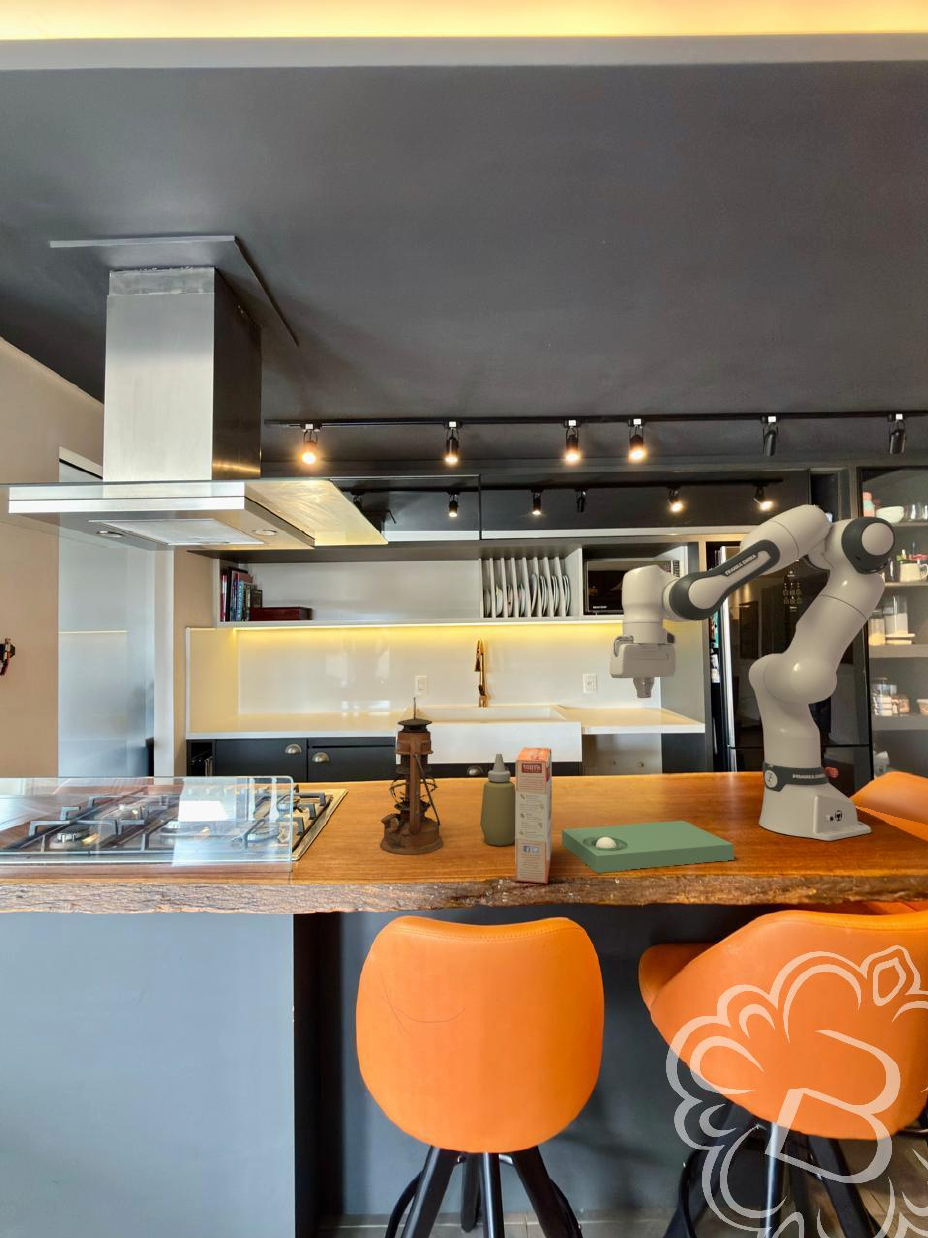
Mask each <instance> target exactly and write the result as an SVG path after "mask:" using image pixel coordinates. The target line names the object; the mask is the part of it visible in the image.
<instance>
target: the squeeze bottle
mask: <svg viewBox="0 0 928 1238" xmlns="http://www.w3.org/2000/svg"><path fill="white" fill-rule="evenodd" d="M487 778H488V779H487V780H488V781H485V782H484V784H483V790H482V791H483V792H482V801H481V809H480V810H481V812H480V820H479V821H480V825H479V826H480V828H481V832H482V834H483V837H484V838H483V839H484V841H485V842H486V843H487V844H489V845H493V846H509V845H511V844H513V843H515V818H516V783H514V782H512V781H511V771H509V770H506V767H505V763H504V758H503V754H502V753H497V754H495V759H494V765H493V769H491V770H489V771H488V772H487Z"/></svg>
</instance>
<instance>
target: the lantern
mask: <svg viewBox="0 0 928 1238" xmlns="http://www.w3.org/2000/svg"><path fill="white" fill-rule="evenodd" d="M413 701H414V708H413V718H409V719H404V720H400V721H397V724H396V725H399V726H402V728H401V730H398V731H397V739H396V745H395V746H396V748H395V750H393V753H394V754H396V755H398V756H400V757H399V758H400V759H399V761H400V762H399V763H400V764H399V765H397V767H396V769H395V772H396V773H398V774H399V775H398V776H396V777H395V778H394V780H392V782H391V784H390V787H389V789H388V791H389V792H390V794H391V796H392V798H393V800H394V801H395V804H394V805H393V808H394V809H395V810H397V811H399V813H398V812H394V813H390V814H387V815H386V816H384V817H383V818H382V819H380V822H381V824H383V825H384V827H383V838H382V840H381V841H380V843H379V847H380V849H381V850H383V851H385V852H387V853H390V854H396V855H414V856H415V855H421V854H428V853H432V852H434V851H437V850H439V849H440V848H442V847H443V845H444V841H443V839H442V837H441V836H440V826H441V821H440V818H439V815H438V812H437V809H436V806H435V803H434V801H433V797H432V794H431V793H433V792H434V791H436V789H438V786H437V784H436V780H435V778H434V777H433V776H431V775H430V774H428V773H430V772H431V771H432V767H431V765H429V755H432V754H434V750H432V739H431V735H432V734H431V731H429V730H428V728H427V726H429V725H431V724H433V721H432V720H429V719H424V718H418V717H417V715H416V713H417V711H416V710H417V703H416V697H413ZM425 777H426V778H428V779H430V780H432V782H428V781H427V780H426V778H425ZM404 778H405V781H404V782H402V783H397V782H398V781H399V779H400V781H401V780H402V779H404ZM421 780H422V781H421ZM395 783H397V784H395ZM394 784H395V785H394ZM421 784H422V785H424V787H425V791H426V794H422V795H421V788H422V787H421V786H422V785H421ZM428 785H429V786H431V787H433V788H431V789H430V788H429V786H428ZM402 786H404V789H405V790H404V792H402V791H399V794H400V795H402V796H397V795H396V792H395V788H398V787H402ZM427 796H428V799H429V800H428V801H424V799H425V797H426V798H427ZM395 798H399V799H400V800H402V801H398V800H397V799H395ZM430 808H432V809H433V812H434V815H435V817H436V820H437V821H436V820H434V819H432V818H430V817H427V816H426V815H425V814H426V813H427V812H428V809H430Z"/></svg>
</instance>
